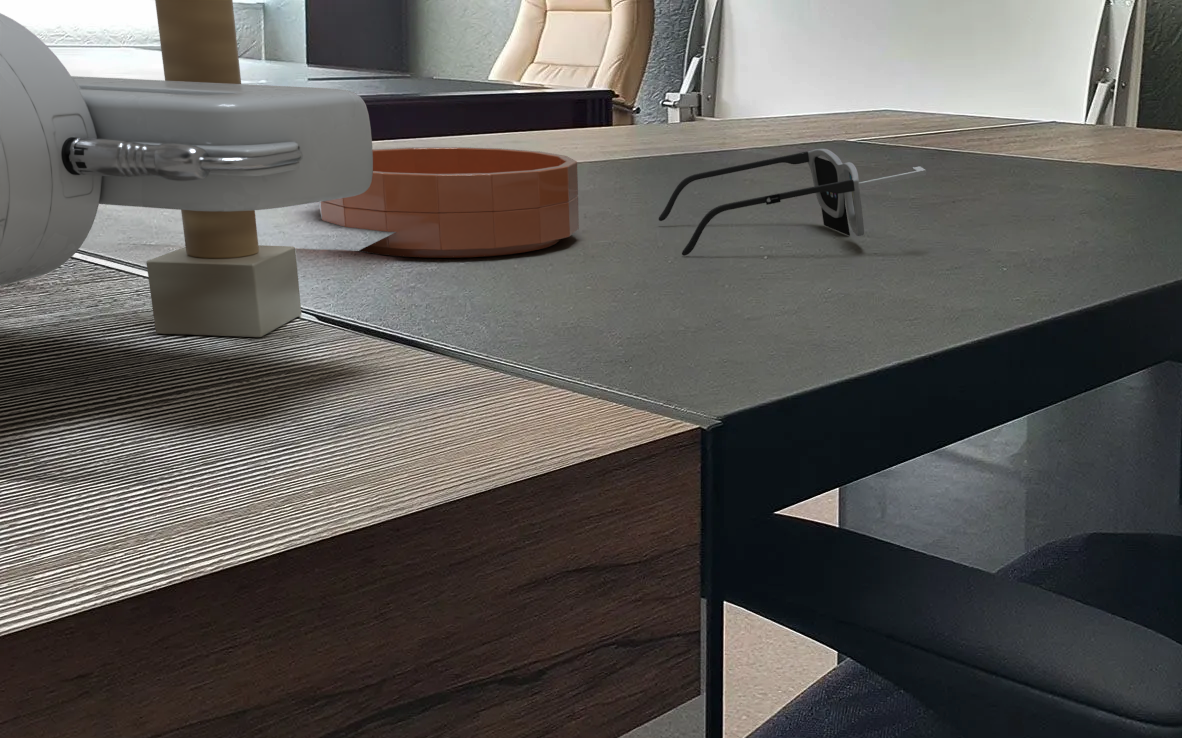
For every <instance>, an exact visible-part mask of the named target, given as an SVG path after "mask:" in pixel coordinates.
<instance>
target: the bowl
mask: <svg viewBox="0 0 1182 738" xmlns="http://www.w3.org/2000/svg"><path fill="white" fill-rule="evenodd" d="M372 151H373V175H372V181H371V184H370V187H369V188H368V189H367V190H366V191H365V192H364V193H362V194H360V195H356V196H351V197H346V198H340V199H334V200H328V201H322V202H318V204H319V205H318V206H319V215H320V219H321V221H323V222H327V223H331V224H334V225H337V226H341V227H344V228H352V229H360V230H369V231H378V232H389V233H391V234H390V235H389V234H388V235H386V236H385V237H383V238H381V239H378V240H377V241H375V242H373V243H370V244H369V245H367V246H365V247H362V248H361V249H358V250H359V251H358V252H362V251H363V252H364V253H367V252H368V254H373V253H374V255H380V256H381V255H382V256H389V257H403V258H420V259H421V258H424V259H426V258H427V259H429V258H430V259H458V258H459V259H465V258H466V259H467V258H483V257H496V256H497V257H498V256H509V255H516V254H517V255H518V254H524V253H529V252H530V253H531V252H534V251H535V252H536V251H539V250H543V249H546V248H549V247H552V246H555V245H557V244H558V243H559V242H560V241H561V239H566V238H570V237H571V236H572V235H574V233H576V232H577V231H578V230H579V229H580V216H579V215H580V214H579V213H580V211H579V182H578V181H579V180H578V179H579V178H578V161H577V160H576V159H574V158H572V157H570V156H567V155H564V154H557V153H551V152H545V151H538V150H526V149H514V148H513V149H512V148H502V147H501V148H498V147H497V148H495V147H467V146H465V147H463V146H458V147H457V146H437V147H435V146H433V147H432V146H431V147H429V146H428V147H425V146H424V147H422V146H421V147H395V148H394V147H393V148H375V149H374V148H372Z"/></svg>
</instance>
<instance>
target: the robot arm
mask: <svg viewBox="0 0 1182 738" xmlns="http://www.w3.org/2000/svg"><path fill="white" fill-rule="evenodd" d="M372 150H373V139H372V129H371V120H370V115H369V111H368V108H367V105H366V103H365V101H364V99H363V98H362V97H361V96H360V95H359V94H357V93H355V92H353V91H351V90H347V89H342V88H332V87H331V88H330V87H329V88H328V87H313V86H311V87H310V86H309V87H307V86H288V85H267V84H248V83H247V84H245V83H241V84H227V83H205V82H184V81H165V80H161V79H141V78H140V79H139V78H138V79H137V78H116V77H98V76H97V77H96V76H77V75H76V76H75V75H71V74H70V72H69V71H68V69H67V68H66V67H65V65H64V64H63V63H62V61H61V60H60V59H59V57H58V56H57V55H56V54H55V53H54V52H53V50H51V48H49V47H48V46H47V44H45V43H44V42H43V40H41V38H39V37H38V36H37V35H36V34H35V33H34V32H32V31H31V30H29V29H28V28H27V27H26V26H24V25H22V24H21V23H19V22H18V21H17V20H14V19H13V18H11V17H9V16H7V15H5V14H3V13H1V12H0V286H6V285H11V284H14V283H19V282H22V281H27V280H31V279H35V278H39V277H41V276H45V275H47V274H49V273H51V272H53V271H55V270H56V269H57V270H58V269H59V268H60V267H61V266H63V265H65V264H66V263H67V262H68V261H69V260H70V259H71V258H72V257H73V256H74V255H75V254H76V253H77V252H78V250H79V249H80V248H81V246H82V245H83V243H84V242H85V241H86V239H87V237H88V235H89V234H90V231H91V229H92V228H93V224H94V222H95V219H96V216H97V213H98V209H99V206H100V205H104V206H105V205H108V206H121V207H133V208H134V207H136V208H148V209H149V208H151V209H164V210H165V209H166V210H179V211H181V210H192V211H209V212H231V211H251V210H255V211H263V210H272V209H282V208H288V207H296V206H301V205H308V204H315V203H319V202H322V201H328V200H334V199H340V198H346V197H351V196H356V195H360V194H362V193H364V192H365V191H366V190H367V189H368V188H369V187H370V184H371V181H372V175H373V151H372Z"/></svg>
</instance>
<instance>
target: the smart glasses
mask: <svg viewBox="0 0 1182 738" xmlns="http://www.w3.org/2000/svg"><path fill="white" fill-rule="evenodd" d="M820 156H822V157H824V158H821V157H820ZM783 163H784V164H790V165H802V164H806V163H807V164H808V167H809V169H810V174H811V178H812V183H813V186H810V187H805V188H800V189H795V190H794V189H793V190H790V191H785V192H780V193H773V194H770V195H764V196H760V197H754V198H748V199H743V200H739V201H733V202H729V203H724V204H721V205H718V206H716V207H713V208H711V209H710V210H709V211H708V212H707V213H706V214H705V215H704V217H702V218H701V220H700V222H699V223H698V225H697V226H696V228H695V231H694V232H693V234H692V236H691V237H690V240H689V241H688V243H687V244H686V246H684V248H683V250H682V251H681V255H682V256H687V255H689V254H690V253H692V251H694V249H695V247H696V245H697V243H698V241H699V239H700V237H701V235H702V234H703V232H704V230H705V228H706V226H707V225H708V224H709V223H710V221H712V219H713V218H714V217H716V216H717V215H719V214H720V213H723V212H726V211H730V210H736V209H741V208H747V207H750V206H751V207H752V206H756V205H757V206H758V205H762V204H765V205H766V206H769V205H773V204H778V203H781V201H782V200H787V199H793V198H797V197H802V196H807V195H813V194H815V197H816V199H817V203H818V205H819V206H820V208H821V216H822V222H823V226H824V227H827V228H830V229H832V230H834V231H836V232H839V233H841V234H844V235H847V236H849V237H850V236H851V231H850V228H851V230H852V231H853V233H854V234H855V235H856V236H857V237H861V236H864V235H865V225H864V215H863V207H862V199H861V189H862V188H869V187H873V186H878V185H879V186H880V185H884V184H889V183H893V182H898V181H904V180H907V179H913V178H918V177H923V176H927V170H926V169H925V168H924V167H922V166H913V167H912V171H909V172H905V173H898V174H894V175H888V176H884V177H879V178H874V179H869V180H865V181H860V179H859V173H858V169H857V167H856V166H855V164H854V163H852V162H851V161H848V162H842V160H841V158H840V157H839V156H838V155H837V154H835V152H833V151H831V150H829V149H827V148H816V149H812V150H809V151H801V152H797V153H792V154H788V155H781V156H778V157H773V158H767V159H763V160H758V161H752V162H748V163H742V164H738V165H733V166H728V167H724V168H719V169H714V170H709V171H704V172H699V173H695V174H692V175H691V174H690V175H689V176H687V177H685V178H684V179H682V180H681V181H679V183H678V185H677V186H676V188H675V189H674V190H673V192H672V194H671V196H670V197H669V199H668V201H667V204H666V206H665V207H664V209H663V211H662V212H661V214H659V216H658V221H659V222H664V220H666V219H668V217H669V216H670V213H671V212H672V209H673V207H674V205H675V203H676V200H677V199H678V197H679V195H680V194H681V192H682V191H683V190H684V189H685V188H686V187H687V186H688V185H689V184H691V183H693V182H695V181H698V180H702V179H703V180H704V179H708V178H713V177H718V176H723V175H729V174H732V173H738V172H742V171H746V170H748V171H749V170H752V169H757V168H763V167H766V166H771V165H776V164H783Z"/></svg>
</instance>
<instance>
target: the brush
mask: <svg viewBox="0 0 1182 738" xmlns="http://www.w3.org/2000/svg"><path fill="white" fill-rule="evenodd" d="M154 3H155V10H156V18H157V27H158V34H159V42H160V51H161V58H162V66H163V67H162V68H163V76H164V81H184V82H205V83H227V84H242V78H241V76H242V75H241V67H240V58H239V48H238V40H237V39H238V38H237V29H236V20H235V19H236V18H235V10H234V1H233V0H154ZM180 214H181V221H182V229H183V238H184V246H183V247H181V248H179V249H176V250H174V251H173V250H172V251H171V252H168V253H167V252H166V253H165V254H162V255H159V256H155V257H154V258H151V259H147V261H146V270H147V276H148V285H149V292H150V300H151V307H152V308H151V309H152V315H153V322H154V329H155V333H156V334H158V335H186V336H213V337H214V336H216V337H244V338H261V337H264V336H265V335H267V334H269V333H271V332H273V331H275V330H276V329H278V328H280V327H282V326H283V325H286V324H288V323H289V322H291V321H293V320H294V319H296V318H298V317H300V316H301V315H302V303H301V295H300V284H299V273H298V264H297V263H298V262H297V253H296V247H295V246H293V245H292V246H291V245H264V244H263V245H259V238H258V228H257V218H256V210H251V211H231V212H209V211H192V210H180Z"/></svg>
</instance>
